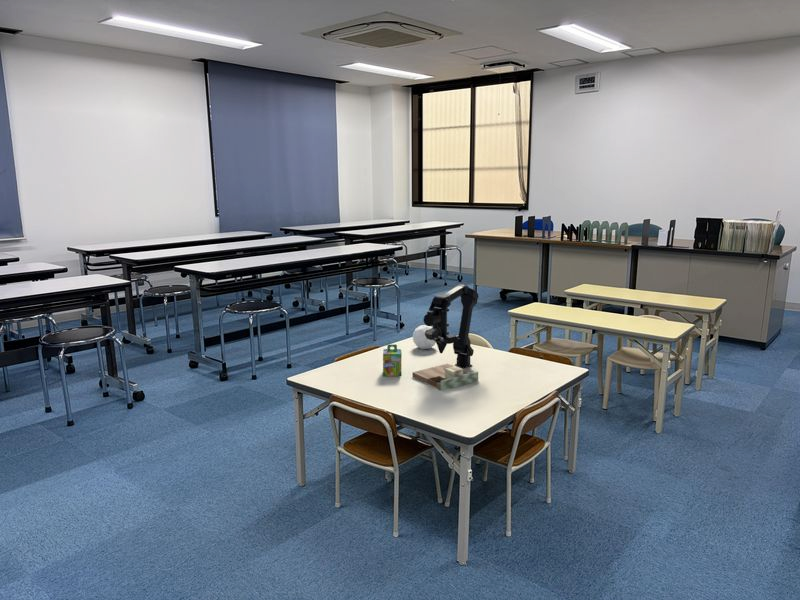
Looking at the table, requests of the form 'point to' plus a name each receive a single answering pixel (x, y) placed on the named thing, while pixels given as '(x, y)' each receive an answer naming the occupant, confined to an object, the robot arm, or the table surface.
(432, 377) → the board
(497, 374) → the table surface
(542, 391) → the table surface
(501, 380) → the table surface
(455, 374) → the block
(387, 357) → the chalk box
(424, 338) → the geodesic sphere
